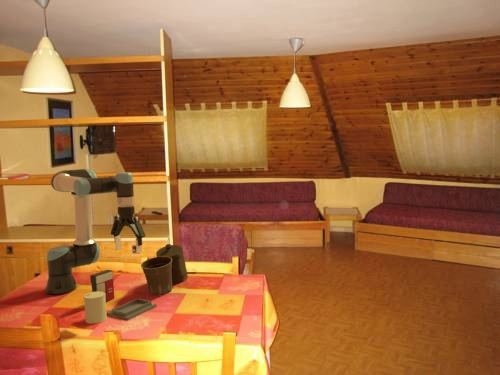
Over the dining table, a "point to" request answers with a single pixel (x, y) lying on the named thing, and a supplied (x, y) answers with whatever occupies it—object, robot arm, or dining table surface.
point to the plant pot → (158, 274)
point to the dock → (132, 309)
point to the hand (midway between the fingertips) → (128, 251)
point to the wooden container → (175, 262)
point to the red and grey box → (103, 283)
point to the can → (95, 307)
